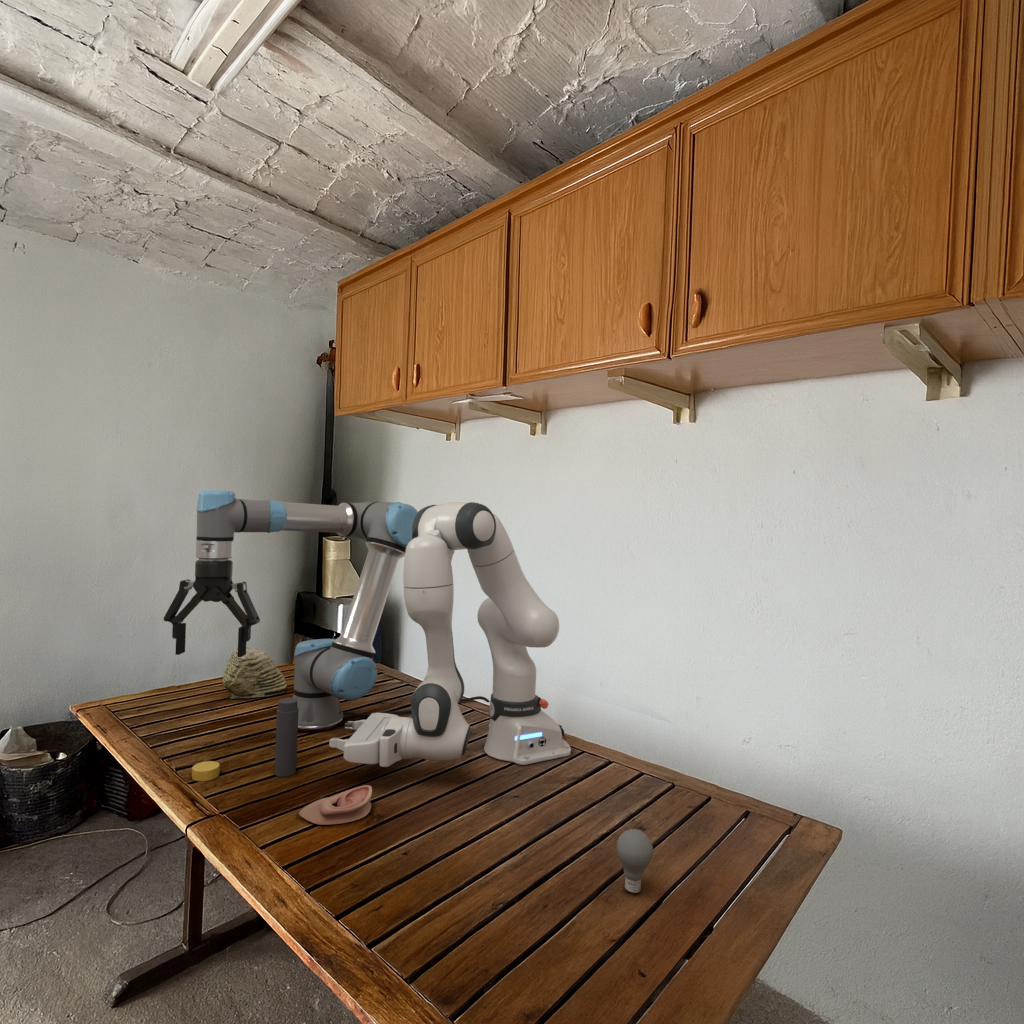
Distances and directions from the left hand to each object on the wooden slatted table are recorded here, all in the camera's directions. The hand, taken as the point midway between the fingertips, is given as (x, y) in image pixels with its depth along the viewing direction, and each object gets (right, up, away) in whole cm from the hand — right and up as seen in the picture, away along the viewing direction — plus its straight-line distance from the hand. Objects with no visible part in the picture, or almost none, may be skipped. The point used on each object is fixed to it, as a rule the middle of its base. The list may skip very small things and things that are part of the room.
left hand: (211, 654), depth 141 cm
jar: (+15, -28, +4) cm, 32 cm away
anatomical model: (+32, -29, -13) cm, 45 cm away
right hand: (+28, -19, +3) cm, 33 cm away
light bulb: (+87, -32, -35) cm, 99 cm away
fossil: (-14, -26, +57) cm, 64 cm away
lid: (-1, -25, 0) cm, 25 cm away
